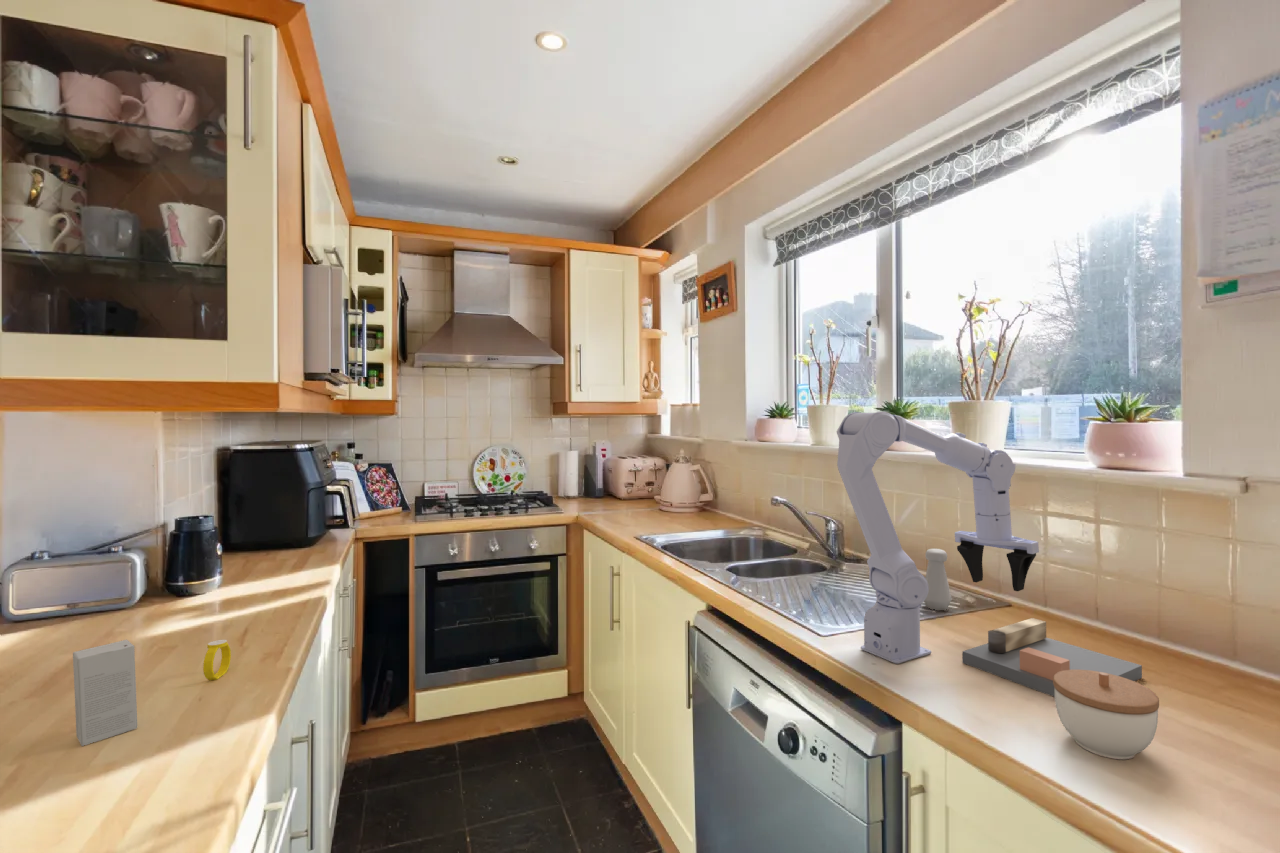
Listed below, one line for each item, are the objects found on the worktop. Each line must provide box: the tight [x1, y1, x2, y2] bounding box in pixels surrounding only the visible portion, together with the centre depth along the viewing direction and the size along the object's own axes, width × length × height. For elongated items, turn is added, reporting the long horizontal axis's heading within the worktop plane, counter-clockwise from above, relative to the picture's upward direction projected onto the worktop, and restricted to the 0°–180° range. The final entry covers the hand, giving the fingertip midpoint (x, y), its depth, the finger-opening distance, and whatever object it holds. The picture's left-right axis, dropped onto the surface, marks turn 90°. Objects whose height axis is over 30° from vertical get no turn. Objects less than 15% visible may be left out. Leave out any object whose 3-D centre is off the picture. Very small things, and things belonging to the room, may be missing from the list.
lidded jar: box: [1053, 670, 1160, 761], centre depth 77 cm, size 11×11×9 cm
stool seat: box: [961, 636, 1143, 698], centre depth 99 cm, size 19×18×5 cm
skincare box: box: [72, 639, 138, 747], centre depth 83 cm, size 6×4×12 cm
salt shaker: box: [923, 548, 952, 611], centre depth 132 cm, size 6×6×13 cm
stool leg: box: [987, 617, 1047, 653], centre depth 105 cm, size 14×3×3 cm, turn 118°
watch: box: [202, 639, 232, 681], centre depth 102 cm, size 6×3×6 cm, turn 9°
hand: (997, 585), depth 111 cm, fingers open, 7 cm apart
